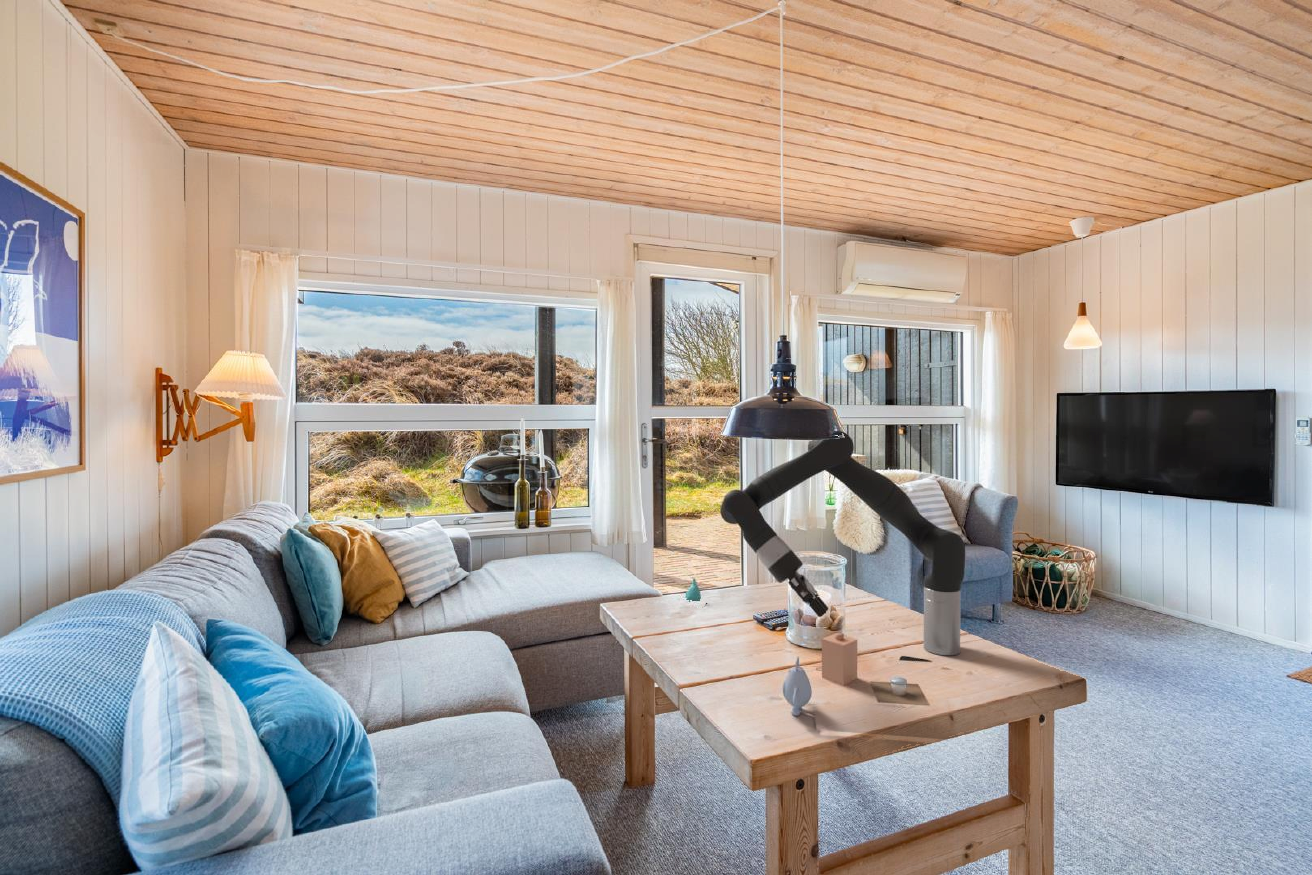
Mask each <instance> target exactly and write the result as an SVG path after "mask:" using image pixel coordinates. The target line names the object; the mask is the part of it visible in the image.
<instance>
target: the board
mask: <svg viewBox="0 0 1312 875" xmlns="http://www.w3.org/2000/svg"><path fill="white" fill-rule="evenodd" d="M869 682H870V684H871V687H872V690H873V693H874V695H875V698H876V701H877V703H883V704H884V703H888V704H902V705H915V706H916V705H918V706H931V705H930V703H929V700H928V699H927V698H926V696H925V694H924V692H923V690H922V689H921V686H920V685H919V684H918V683H907V684H906V695H904V696H898V695H894V694H893V693H892V692H891V681H890V682H888V681H875V680H874V681H873V680H871V681H869Z"/></svg>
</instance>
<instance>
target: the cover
mask: <svg viewBox="0 0 1312 875" xmlns="http://www.w3.org/2000/svg"><path fill="white" fill-rule="evenodd" d="M821 678H822V679H825V680H827V681H831V682H833V683H836V684H838V685H840V686H845V685H847V684H849V683H850V682H853V681H855V680H857V679H858V639H857V638H854V637H851V636H846V635H845V634H844V633H842V632H835V633H833V634H831V635H828V636H825V637H823V638H821Z"/></svg>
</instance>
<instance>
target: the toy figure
mask: <svg viewBox="0 0 1312 875" xmlns="http://www.w3.org/2000/svg"><path fill="white" fill-rule="evenodd" d="M799 658H800V656H797V657H796V660H795V666H793V667H791V668H790V669H789V670H788V673H787V674H786V676H785V679H784V681H783V684H782V694H783V697H784V699H785V700H786V702H787V703H788V704H789V705H791V706H792V709H791V711H790V714H791V715H792V716H797V717H798V716H800V714H801V712H802V711H801V710H802V707H805V706H806V705H807V704H808V703H809V702H810V700H811V698H812V693H813V691H812V686H811V682H810V678H809V677H808V675H807V673H806V671H805V670H804V668H803V667H802V666H801V667H800V659H799Z"/></svg>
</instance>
